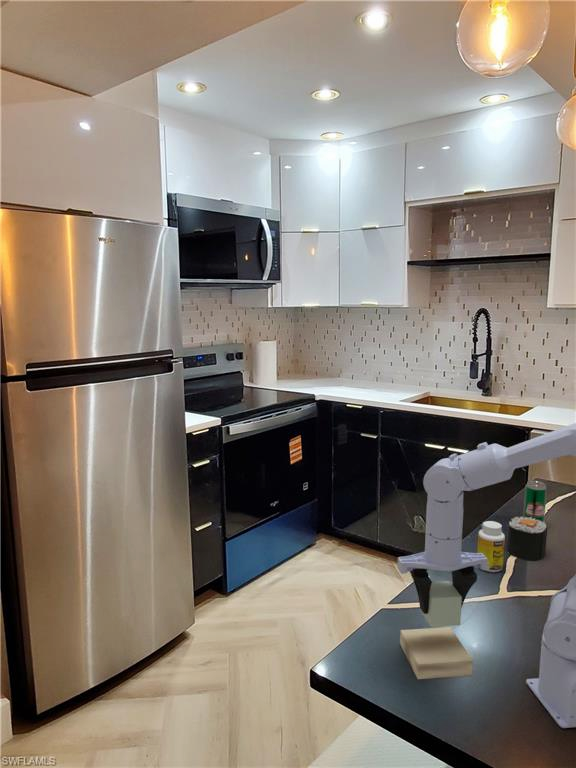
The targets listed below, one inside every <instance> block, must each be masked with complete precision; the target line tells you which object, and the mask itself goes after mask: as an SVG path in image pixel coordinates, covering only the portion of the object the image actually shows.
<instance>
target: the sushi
mask: <svg viewBox="0 0 576 768" xmlns="http://www.w3.org/2000/svg"><path fill="white" fill-rule="evenodd" d="M547 540H548V527H547V524H546V523H545V521H544V522H543V523H542V521H540V520H539V521H538V520H535V518H533V519H532V517H530V518H526V517H525V518H523V516H519V517H518V516H515V517H513V518H511V521H509V523H508V538H507V541H508V543H507V553H508V552H509V553H508V554H509V555H510V556H512V557H514V558H517V559H520V560H523V561H524V560H525V561H529V562H530V561H531V562H538V561H541V560H542V559H544V558H545V556H546V549H547Z"/></svg>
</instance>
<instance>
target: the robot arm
mask: <svg viewBox="0 0 576 768" xmlns="http://www.w3.org/2000/svg"><path fill="white" fill-rule="evenodd" d="M476 448H477V449H473V450H469V451H467V452H465V453H462V454H459V455H458V453H457V452H456V453H452V454H451V455H449V456H448V457H447V458H446V457H445V458H442V459H440V460H438V461H437V462H435V463H434V464H433V465H432V466H431V467H430V468H429V469H428V470H426V473H425V474H424V476H423V479H422V483H423V488H424V490H425V492H426V493H427V502H426V512H425V513H426V515H425V516H426V518H425V537H424V538H425V539H424V540H425V542H424V543H425V544H424V551H422V552H418V553H414V554H410V555H405V556H399V557H397V570H398V571H399V573H400V574H407V573H408V572H409V573H410V576H411V578H412V580H413V582H414V583H413V584H414V585H415V586H414V587H415V589H416V592H417V597H418V601H419V603H418V604H419V609H420V608H421V610H422V612H423V613H424V614H428V610H429V593H430V588H431V584H432V582H433V581H432V579H431V578H430V577H429V573H428V571H439V572H440V571H441V572H451V578H452V582H451V583H452V585H453V586H454V587H455V589H456V590H457V591H458V593H459V594H460V595H461V596H462V602H461V609H462V608H463V605H464V602H465V599H466V597H467V595H468V594H469V591H470V590H471V589H472V587H473V586H474V584H476V582H477V581H478V573H476V571H475V569H479V570H481V571H484V570H483V569H487V558H486V557H485V556H484V555H483V554H482V553H477V552H467V551H466V552H465V551H462V543H463V542H462V541H463V521H464V491H467V492H471V491H475V490H478V489H481V488H484V487H488V486H492V485H495V484H498V483H502V482H505V481H508V480H511V478H512V476H513V474H514V471H515V469H519V468H523V467H526V466H531V465H534V464H538V463H541V462H546V461H549V460H553V459H558V458H560V457H565V456H572V457H575V458H576V422H575V423H571V424H569V425H566V426H563V427H560V428H558V429H555V430H552V431H550V432H547V433H545V434H543V435H541V434H540V435H539V436H536V437H534V438H531V439H529V440H525V441H523V442H519V443H517V444H514V445H512V446H509V447H506V446H503V445H500V444H498V443H491V444H488V442H487V441H485V442H482V443H478V445H477V446H476ZM550 598H551V599H550V604H549V606H550V607H549V611H548V615H547V620H546V622H545V624H544V626H543V632H542V636H541V648H540V660H539V669H538V670H539V672H538V673H539V674H538V677H537V678H527V679H526V681H525V683H526V684H527V686H528V688H530V690H531V691H532V692H533V694H534V695H535V696H536V698H537V699H538V700H539V701H540V702H541V704H542V705H543V707H544V708H545V709H546V710H547V711H548V713H549V714H550V716H551V717H552V718H553V720H554V721H555V722H556V724H557V725H558V726H559V727H560V728H562V729H567V728H576V574H575V575H574V576H573V577H571V578H570V579H569V580H568V583H567V584H566V586H564V587H563V588H562V589H560V590H558V591H556V592H555V593H554V594H553V595H552V597H550ZM421 610H420V611H421ZM422 612H421V613H422Z"/></svg>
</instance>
